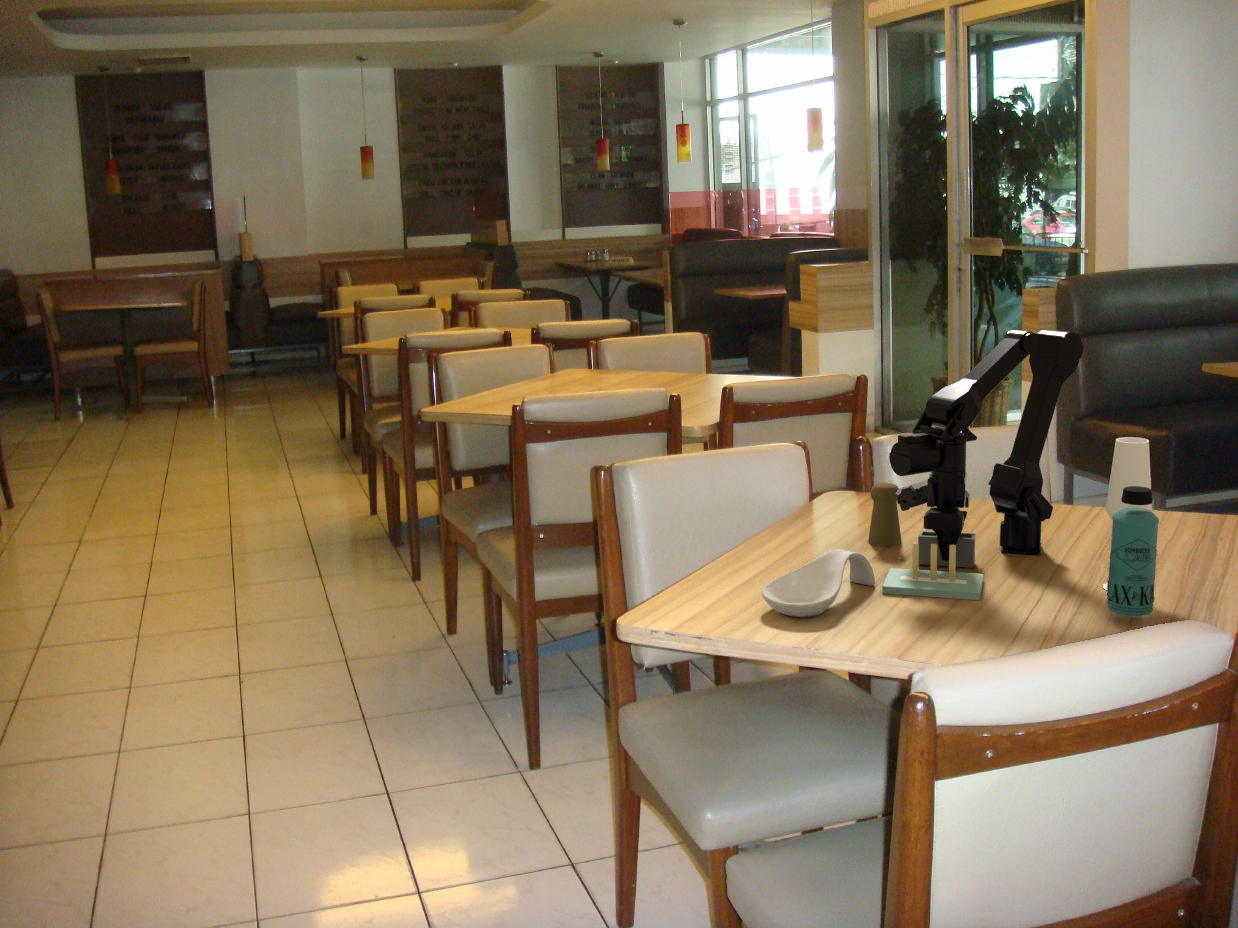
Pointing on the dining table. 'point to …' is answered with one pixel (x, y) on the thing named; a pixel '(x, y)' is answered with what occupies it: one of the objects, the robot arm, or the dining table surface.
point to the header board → (933, 579)
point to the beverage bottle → (1133, 555)
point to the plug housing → (926, 538)
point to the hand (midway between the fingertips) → (946, 557)
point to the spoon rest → (816, 583)
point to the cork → (884, 516)
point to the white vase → (1128, 473)
